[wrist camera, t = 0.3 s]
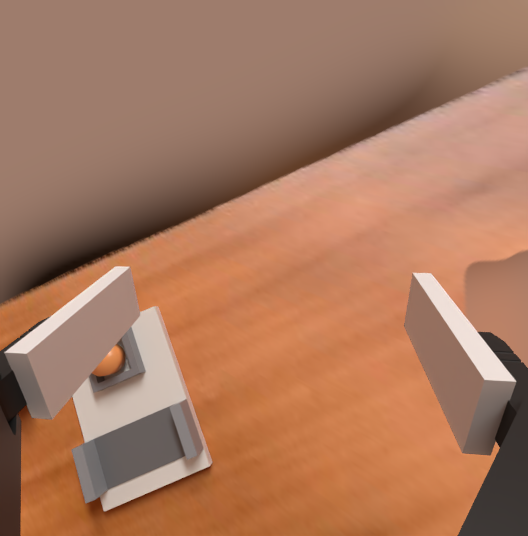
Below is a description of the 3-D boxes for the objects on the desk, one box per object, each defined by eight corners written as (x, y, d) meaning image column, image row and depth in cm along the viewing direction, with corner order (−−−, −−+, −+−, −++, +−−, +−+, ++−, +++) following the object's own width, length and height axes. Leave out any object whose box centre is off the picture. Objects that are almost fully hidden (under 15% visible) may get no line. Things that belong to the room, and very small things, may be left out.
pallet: (212, 462, 48) (204, 475, 43) (109, 506, 48) (91, 523, 44) (158, 306, 53) (146, 304, 49) (65, 347, 53) (44, 348, 49)
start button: (129, 367, 49) (121, 368, 46) (101, 379, 49) (91, 381, 46) (120, 338, 50) (111, 338, 47) (93, 350, 50) (83, 351, 47)
